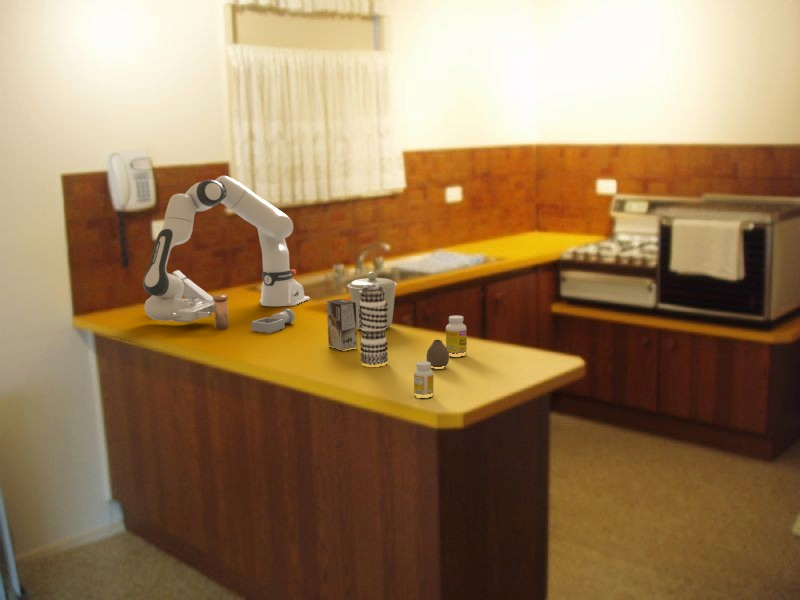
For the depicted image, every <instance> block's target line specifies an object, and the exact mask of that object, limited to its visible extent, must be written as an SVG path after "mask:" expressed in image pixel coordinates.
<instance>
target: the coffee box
mask: <svg viewBox="0 0 800 600" xmlns="http://www.w3.org/2000/svg"><path fill="white" fill-rule="evenodd" d="M326 315H327V316H326V317H327V338H328V347H329V346H331V347H334V348H338V349H341V350H345V349H350V348H355V347H357V348H358V330H357V329H358V328H357V324H356V302H352V301H351V300H348V299H342V298H339V299H333V300H328V301H326Z"/></svg>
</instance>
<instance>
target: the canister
mask: <svg viewBox="0 0 800 600" xmlns="http://www.w3.org/2000/svg"><path fill="white" fill-rule="evenodd" d="M366 276H367V277H366V278H364V277H363V278H359V279H354V280H353V281H351V282H350V283H348V284H347V288H348V289H349V295H350V296H349V297H350V301H352V302H356V324H357V329H358V328H359V329H358V330H360V325H361V324H359V321H360V320H361V319H360V318H359V314H360V313H359V312H358V311H359V309H360V307H359V306H360V300H361V293H360V292H359V291H360V290H362V288H363V287H364V286H366V285H379V286H381V287H382V288H383V290H385V292H384V294H385V303H387V304H388V305H387V306H385V307H384V308H387V309H388V310H387V311H384V312H385V314H387V317H386V318H385V319H387V322H386V323H385V325H386V326H387V329H389V328H390V327H391V326H392V322H393V319H394V317H393V315H394V308H395V307H394V306H395V295H396V287H397V286H398V283H397V282H395V281H393V280H392V279H389V278H384V277H383V278H382V277H378V274H377V273H376V272H374V271H370V272H368V273H367V275H366ZM361 316H362V315H361ZM388 327H389V328H388Z"/></svg>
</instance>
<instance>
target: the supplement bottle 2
mask: <svg viewBox="0 0 800 600" xmlns="http://www.w3.org/2000/svg"><path fill="white" fill-rule="evenodd" d="M463 322H464V316H463V315H450V316H448V323H447V325H446V326H445V347H446V348H447V350H448V353H452V354H455V353H456V354H458V353H464V352H466V351H467V343H468V341H467V340H468V339H467V326H466V324H464V323H463ZM466 353H467V352H466Z"/></svg>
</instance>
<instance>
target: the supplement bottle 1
mask: <svg viewBox="0 0 800 600" xmlns="http://www.w3.org/2000/svg"><path fill="white" fill-rule="evenodd" d="M415 366H416V369H415V370H414V371H413V393H416V394H420V395H421V394H422V395H425V394H426V395H427V394H431V393H433V394H434V371H433V369H432V368H431V363H430V362H427V360H426V361H425V360H423V361H417V362H416V364H415Z"/></svg>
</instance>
